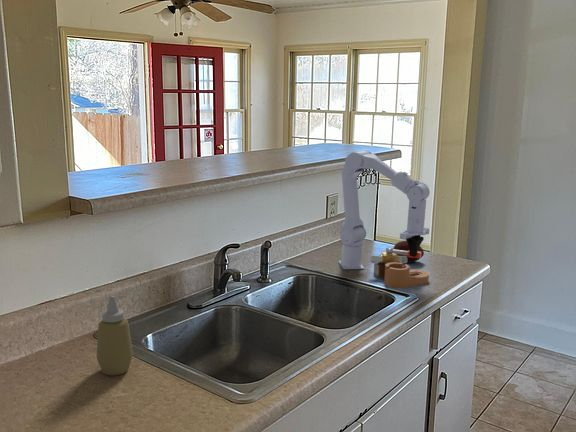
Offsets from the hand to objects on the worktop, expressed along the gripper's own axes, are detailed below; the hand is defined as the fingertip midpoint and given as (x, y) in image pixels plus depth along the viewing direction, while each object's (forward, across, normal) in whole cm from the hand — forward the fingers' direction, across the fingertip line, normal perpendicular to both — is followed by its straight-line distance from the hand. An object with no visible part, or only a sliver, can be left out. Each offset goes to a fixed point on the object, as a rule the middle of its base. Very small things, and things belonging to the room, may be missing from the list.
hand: (413, 256), depth 194 cm
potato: (+9, +18, +15) cm, 26 cm away
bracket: (+10, -3, 0) cm, 10 cm away
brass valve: (+9, -2, +9) cm, 13 cm away
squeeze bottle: (+10, -109, +4) cm, 109 cm away
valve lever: (+1, 0, +4) cm, 4 cm away
